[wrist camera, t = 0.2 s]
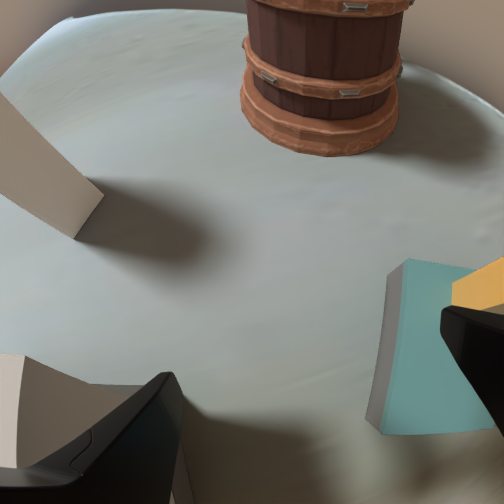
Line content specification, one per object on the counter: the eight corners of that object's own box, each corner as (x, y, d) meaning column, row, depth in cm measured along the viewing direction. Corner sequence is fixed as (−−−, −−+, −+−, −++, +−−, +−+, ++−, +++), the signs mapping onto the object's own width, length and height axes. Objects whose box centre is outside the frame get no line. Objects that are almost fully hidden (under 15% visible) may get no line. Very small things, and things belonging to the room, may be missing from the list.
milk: (73, 240, 28) (-86, 131, 8) (50, 215, 30) (-83, 115, 9) (106, 194, 29) (-32, 55, 9) (79, 174, 31) (-38, 55, 10)
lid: (480, 423, 16) (555, 444, 7) (374, 427, 17) (428, 474, 8) (497, 281, 19) (570, 245, 10) (398, 266, 21) (459, 212, 12)
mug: (403, 58, 32) (428, -59, 13) (388, 181, 26) (465, -7, 7) (280, 29, 36) (267, -84, 17) (212, 133, 30) (150, -38, 11)
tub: (463, 418, 18) (487, 425, 15) (365, 418, 20) (378, 431, 16) (479, 289, 22) (503, 279, 18) (387, 275, 23) (403, 262, 20)
